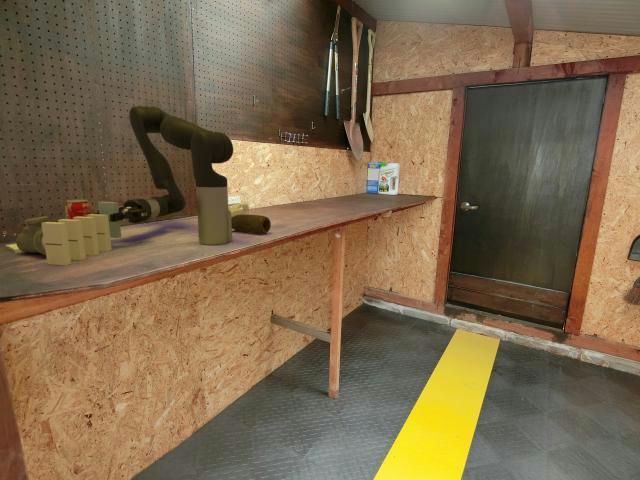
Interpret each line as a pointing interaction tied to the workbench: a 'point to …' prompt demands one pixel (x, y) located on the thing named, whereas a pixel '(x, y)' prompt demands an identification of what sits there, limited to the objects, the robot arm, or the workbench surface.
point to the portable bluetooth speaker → (251, 223)
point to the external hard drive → (13, 248)
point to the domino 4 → (108, 209)
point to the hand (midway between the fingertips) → (102, 217)
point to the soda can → (77, 208)
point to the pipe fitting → (32, 236)
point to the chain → (237, 211)
